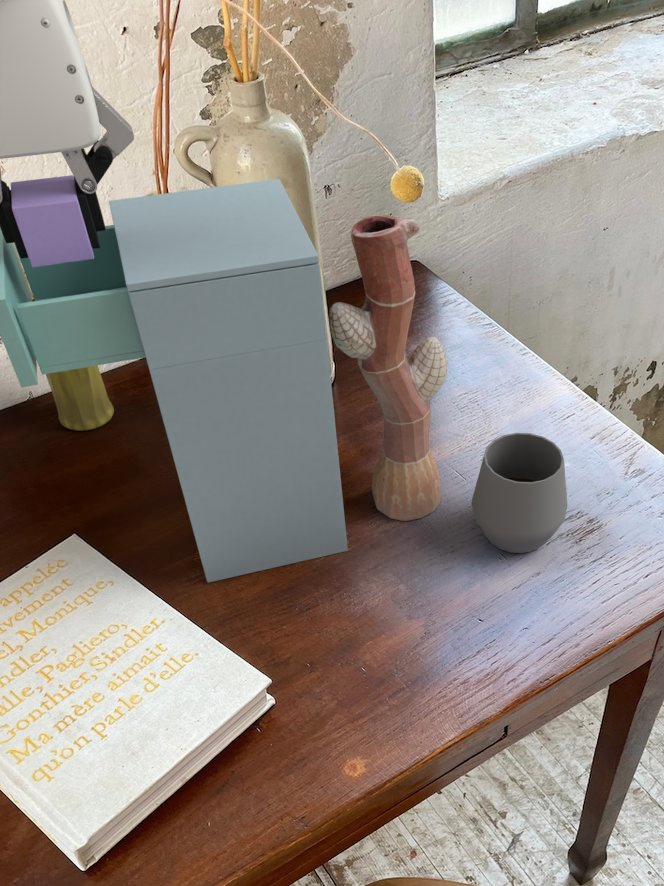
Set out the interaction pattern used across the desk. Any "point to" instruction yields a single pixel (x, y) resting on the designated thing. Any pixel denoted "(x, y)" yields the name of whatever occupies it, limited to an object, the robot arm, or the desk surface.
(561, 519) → the cup
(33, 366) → the mint cabinet drawer
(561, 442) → the desk surface
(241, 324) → the tall blue pedestal box
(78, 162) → the robot arm
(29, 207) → the lavender foam block
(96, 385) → the vase
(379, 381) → the vase
